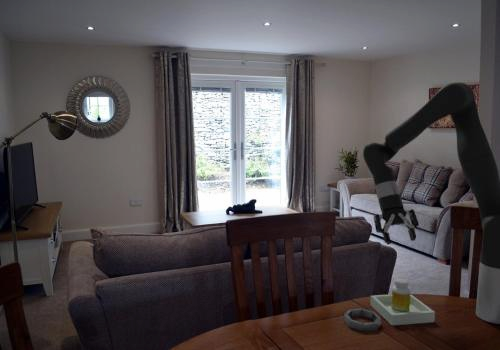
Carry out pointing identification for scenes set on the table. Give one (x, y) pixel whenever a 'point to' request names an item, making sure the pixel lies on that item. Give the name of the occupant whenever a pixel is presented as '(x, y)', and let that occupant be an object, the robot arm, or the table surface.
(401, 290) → the supplement bottle
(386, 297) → the tray
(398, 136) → the robot arm
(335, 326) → the table surface
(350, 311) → the holder ring
